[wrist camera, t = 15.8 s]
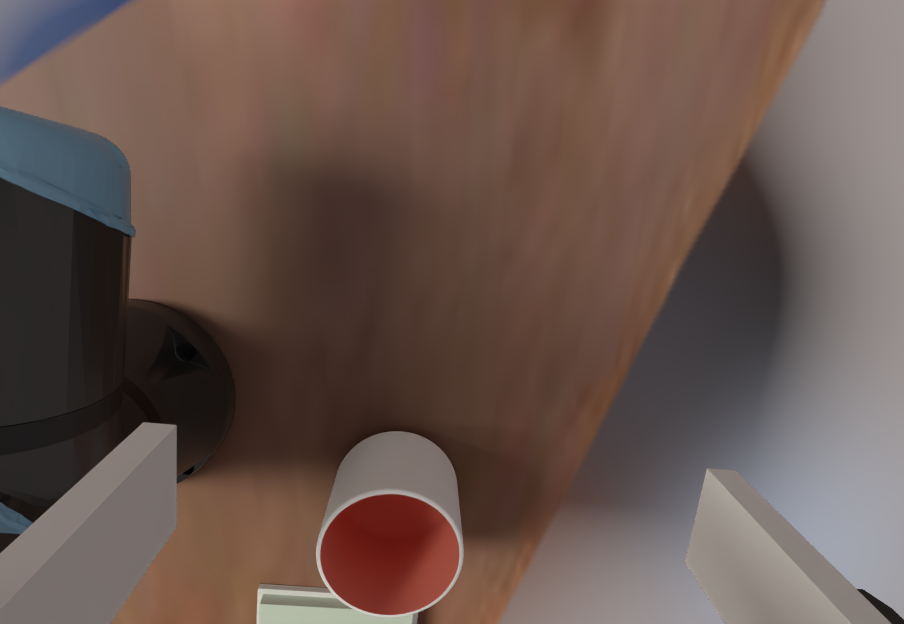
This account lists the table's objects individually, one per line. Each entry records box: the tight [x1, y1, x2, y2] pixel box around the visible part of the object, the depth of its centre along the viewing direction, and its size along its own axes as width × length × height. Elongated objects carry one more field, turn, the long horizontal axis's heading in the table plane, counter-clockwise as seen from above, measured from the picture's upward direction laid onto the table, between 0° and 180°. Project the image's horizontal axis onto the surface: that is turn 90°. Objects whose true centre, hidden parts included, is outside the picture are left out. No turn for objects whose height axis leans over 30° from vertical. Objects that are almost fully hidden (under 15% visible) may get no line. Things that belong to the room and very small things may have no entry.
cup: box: [316, 431, 464, 617], centre depth 45 cm, size 10×10×10 cm
